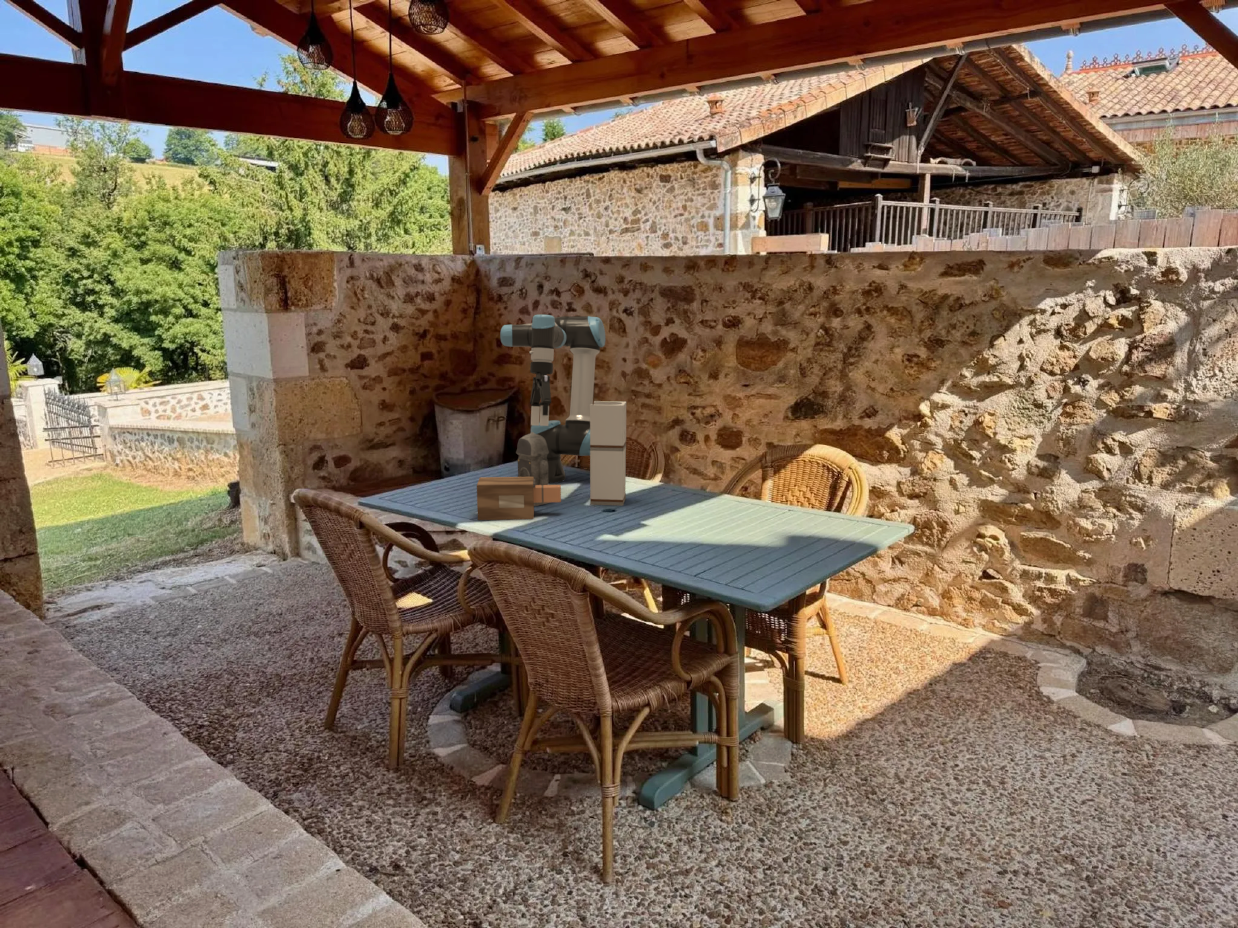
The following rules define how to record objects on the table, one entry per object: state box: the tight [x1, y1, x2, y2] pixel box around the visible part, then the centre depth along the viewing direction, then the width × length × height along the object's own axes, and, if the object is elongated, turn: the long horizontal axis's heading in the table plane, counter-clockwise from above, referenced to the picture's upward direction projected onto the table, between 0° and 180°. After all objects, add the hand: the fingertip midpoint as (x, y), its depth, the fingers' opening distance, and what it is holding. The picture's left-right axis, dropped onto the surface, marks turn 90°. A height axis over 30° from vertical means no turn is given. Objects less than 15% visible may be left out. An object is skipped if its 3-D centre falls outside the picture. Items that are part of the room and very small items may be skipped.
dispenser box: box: [476, 476, 535, 521], centre depth 272 cm, size 12×19×12 cm, turn 95°
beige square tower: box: [589, 400, 627, 507], centre depth 288 cm, size 11×11×35 cm
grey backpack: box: [515, 431, 551, 507], centre depth 288 cm, size 10×14×25 cm
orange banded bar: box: [533, 484, 562, 503], centre depth 272 cm, size 4×25×5 cm, turn 95°
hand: (539, 425), depth 275 cm, fingers open, 13 cm apart
